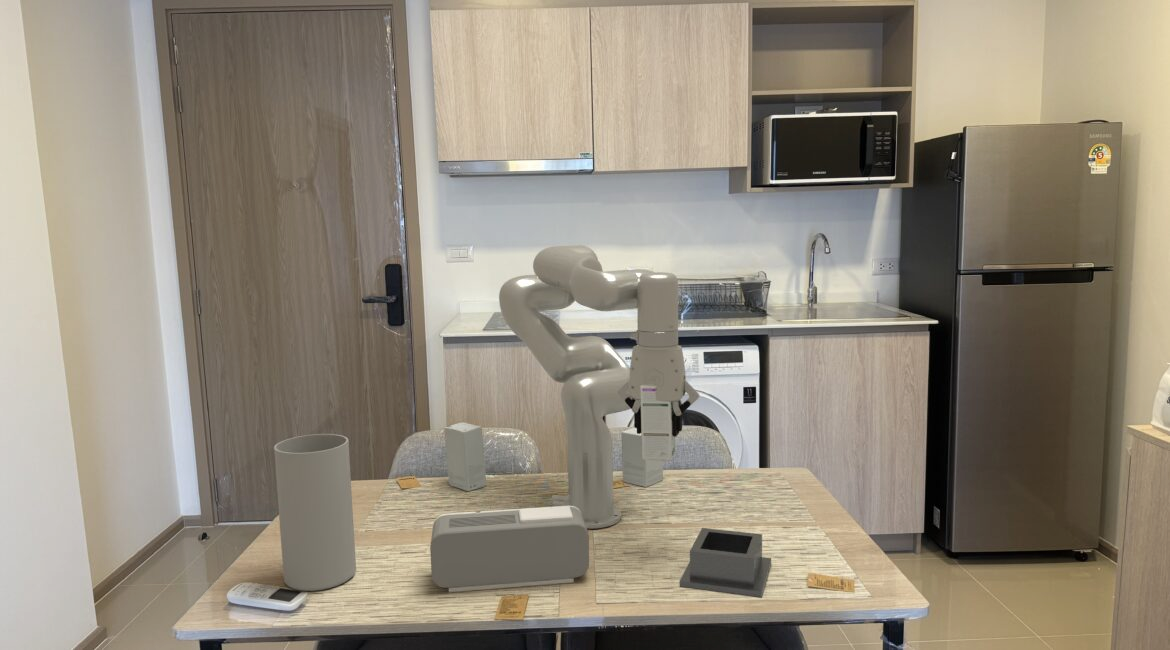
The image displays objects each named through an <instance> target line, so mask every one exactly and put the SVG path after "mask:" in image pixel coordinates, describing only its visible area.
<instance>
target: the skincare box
mask: <svg viewBox="0 0 1170 650" xmlns="http://www.w3.org/2000/svg"><path fill="white" fill-rule="evenodd" d="M444 438H445V439H444V440H445V441H444V442H445V453H446V463H447V464H446V465H447V466H446V467H447V474H448V475H447V476H448V485H449V486H451V487H454V488H457V489H460V490H462V491H463V490H464V491H467V492H471V491H473V490H474V491H475V490H477V489H481V488H484V487H487V473H486V460H485V451H484V439H483V427H482V425H476V424H471V423H467V422H464V421H463V422H459V423H455V424H452V425H447V426H445V427H444Z"/></svg>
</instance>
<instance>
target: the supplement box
mask: <svg viewBox="0 0 1170 650" xmlns="http://www.w3.org/2000/svg"><path fill="white" fill-rule="evenodd" d="M620 433H621V459H622V461H621V465H622V469H621V470H622V482H623V483H627V484H630V485H636V486H639V487H643V488H644V487H645V488H648V487H650V486H652V485H655V484H657V483H660V482H661V481H663V480H664V464H663V463H664V461H652V460H643V459H642V438H641V433H640V434H637V428H635V427H632V428H628V429H626V430H623V431H621V432H620Z"/></svg>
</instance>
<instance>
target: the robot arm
mask: <svg viewBox="0 0 1170 650" xmlns="http://www.w3.org/2000/svg"><path fill="white" fill-rule="evenodd" d="M532 268H533V272H534V274H526V275H525V274H524V275H520V276H515V277H512V278H510V279H508V280H507V281H505V282H503V285H502V286H501V287H500V290H499V293H498V301H499V302H498V303H499V307H500V312H501V315H502V317H503V319H504V322H505V323H506V325H507V326H508V328H509V329H510V330H511V331H512V333H513V334H514V335H515V336H516V337H517V338H518V339H520V341H522V343H524V345H526V347H527V348H528V349H529V350H530V352H531V353H532V355H533V357H534V358H535V359H536V360H537V361H538V363H539V364H540V366H541V367H542V368H543V370H544V371H545V372H546V373H547V375H548V376H549V377H550V378H551V379H552V381H554V382H556V383H559V384H563V385H562V387H561V393H560V397H561V398H560V399H561V404H562V408H563V414H564V419H565V425H566V426H565V427H566V443H567V444H566V445H567V446H566V447H567V475H568V476H567V477H568V478H567V479H568V480H567V481H568V485H567V486H568V494H566V495H565V496H562V495H559V494H552V496H551V504H552V507H555V506H575V507H576V508H578V509H579V510H580V512H581V514H582V517H583V519H584V522H585V525H586V528H587V530H588V529H589V530H590V529H603V528H608V527H610V526H614V525H615V524H617V523H619V521H621V519H622V513H621V510H620V509H619V508H617V507H616V506H614V464H613V463H614V461H613V460H614V459H613V458H614V457H613V437H612V432H611V430H610V428H609V426H608V425H607V424H606V422H605V421H604V419H603V418H604V416H607V415H613V414H617V413H621V412H626V411H629V410H631V411H632V413H633V418H634V419H633V421H634V422H633V425H634V427H635V428H637V434H640V433H641V389H640V386H641V385H649V384H653V385H655V386H657V387H656V388H655V389H657V388H659V389H657V390H655V394H656V400H659V401H666V402H672V408H673V410H674V415H673V416H672V436H674V437H675V438H676V437H678V435H679V434H680V432H682V430H683V413H684V412H686V411H687V409H688V408H690V406H692V405H693V404H694V403H695V402H697V400H698V399H699V398H700V393H698V391H697V390H696V389H695V388H694V387H693V386H692V385H691V384H690V383H689V381H687V379H686V378H687V377H686V367H685V359H684V352H683V348H682V347H683V346H681V345H679V280H678V277H677V275H675V274H674V273H671V272H663V271H662V272H658V271H657V272H655V271H652V270H649V269H644V268H643V269H642V268H641V269H639V268H637V269H622V270H621V269H619V270H618V269H617V270H611V271H609V270H607V271H603V266H602V264H601V262H600V261H599V259H598V256H597V254H596V253H595V251H594V249H592V248H590V247H589V246H586V245H580V244H578V245H558V246H557V245H556V246H555V245H554V246H549V247H546V248H544V249H542V250H540V251H539V252H538V253H537V254H536V255H535V257H534V259H533V262H532ZM575 302H576V303H577V304H578V305H580V306H584V307H586V308H589V309H592V310H596V311H600V312H615V311H624V310H633V309H637V329H636V330H635V331H634V332H633V331H631V332H630V333H629V338H630V340H634V341H635V342H636V344H637V345H634V346H633V347H632V351H631V358H630V366H629V365H628V364H627V363H626V362H625V360H624V359H623V357H622V356H620V354H619V353H618V352H617V351H616V349H615V348H614V347H613V346H612V344H610V342H608V341H607V340H606V339H604V338H602V337H600V336H595V335H589V336H578V337H573V336H569V335H568V334H567V333H566V332H565V331H564V330H563V328H562V327H561V326H560V324H558V323H557V322H556V321H555V320H553V319H552V318H551V317H549V316H547V315H545V314H543V313H541V312H549V311H557V310H563V309H566V308H569V307H570V306H571V305H573V304H574V303H575ZM686 394H687V395H688V398H687V399H686V400H685V401H684V402H682V400H681V399H683V397H684V396H685V395H686ZM634 427H633V428H634Z"/></svg>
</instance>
